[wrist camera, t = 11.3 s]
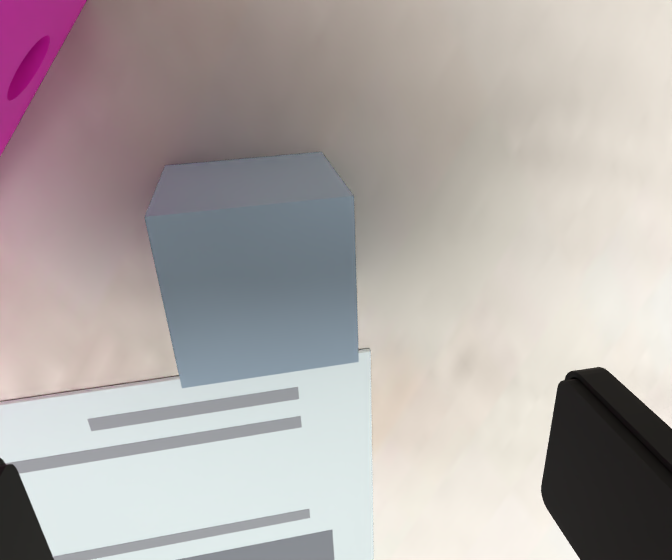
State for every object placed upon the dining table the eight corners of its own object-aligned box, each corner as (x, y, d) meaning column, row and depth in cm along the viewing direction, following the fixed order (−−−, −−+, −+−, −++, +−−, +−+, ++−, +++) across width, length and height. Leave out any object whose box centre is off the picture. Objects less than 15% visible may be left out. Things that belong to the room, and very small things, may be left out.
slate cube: (165, 164, 17) (144, 216, 12) (321, 151, 17) (353, 195, 13) (191, 302, 19) (181, 388, 15) (328, 285, 20) (358, 362, 15)
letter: (-130, 420, 19) (-134, 424, 18) (369, 348, 21) (370, 351, 21) (-6, 637, 24) (-8, 642, 24) (372, 559, 27) (373, 563, 27)
